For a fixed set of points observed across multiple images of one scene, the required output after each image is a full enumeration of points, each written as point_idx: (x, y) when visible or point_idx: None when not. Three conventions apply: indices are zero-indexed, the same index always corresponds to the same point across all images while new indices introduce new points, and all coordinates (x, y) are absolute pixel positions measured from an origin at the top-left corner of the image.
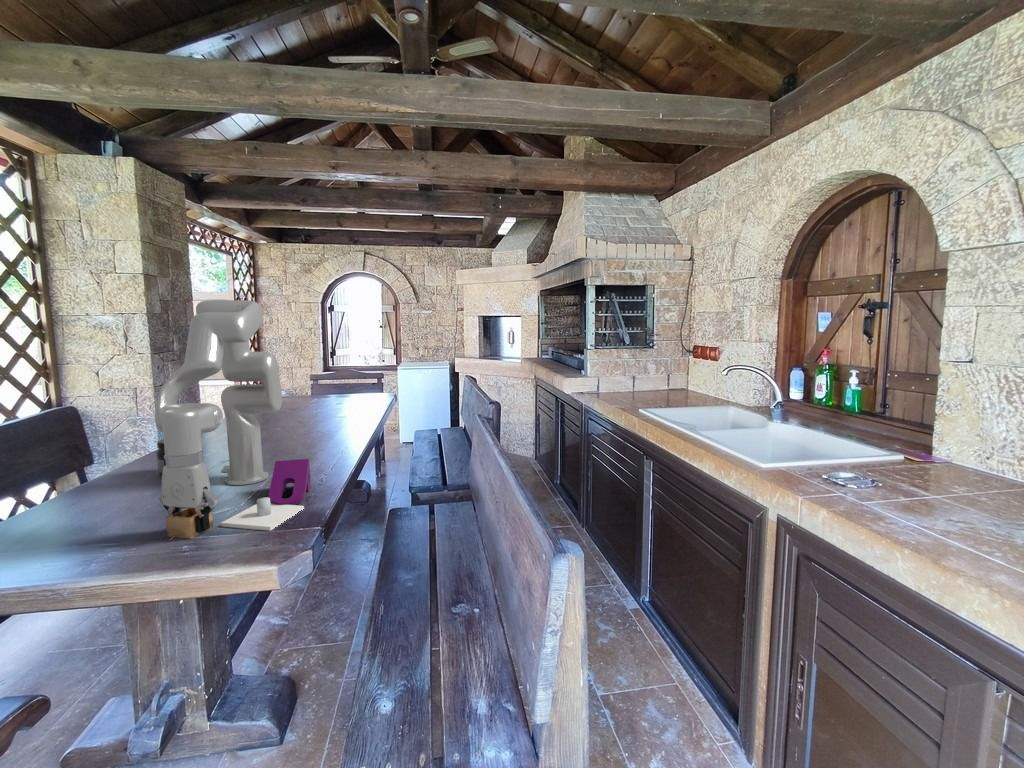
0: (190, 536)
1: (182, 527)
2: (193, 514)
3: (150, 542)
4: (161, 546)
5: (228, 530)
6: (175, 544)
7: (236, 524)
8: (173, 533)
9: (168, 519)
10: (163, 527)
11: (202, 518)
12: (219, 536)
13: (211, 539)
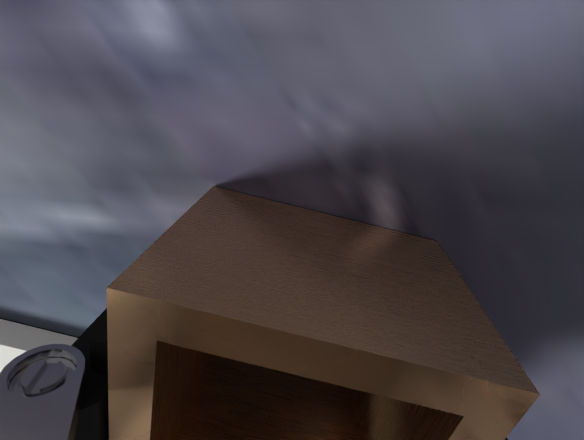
0: (217, 195)
1: (275, 247)
2: None
3: (544, 136)
4: (389, 35)
5: (53, 297)
6: (279, 77)
7: (10, 343)
8: (385, 241)
9: (482, 353)
10: (549, 389)
11: (82, 347)
12: (33, 210)
13: (47, 162)
